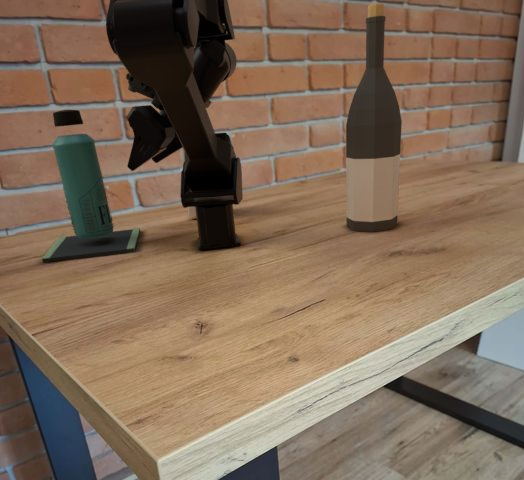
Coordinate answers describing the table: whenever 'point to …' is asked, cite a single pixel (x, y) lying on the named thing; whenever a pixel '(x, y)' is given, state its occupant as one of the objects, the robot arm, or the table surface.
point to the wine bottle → (373, 139)
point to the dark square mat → (93, 246)
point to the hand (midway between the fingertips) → (142, 164)
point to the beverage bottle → (81, 179)
